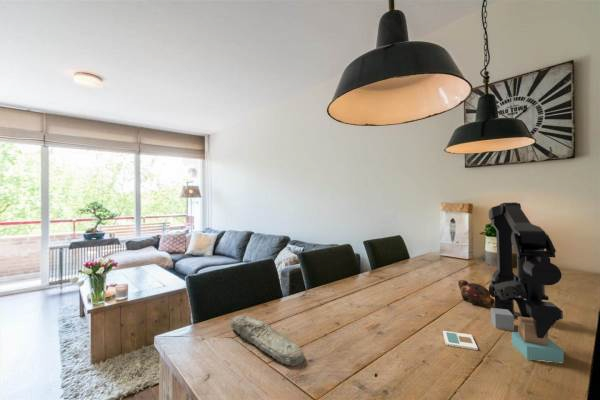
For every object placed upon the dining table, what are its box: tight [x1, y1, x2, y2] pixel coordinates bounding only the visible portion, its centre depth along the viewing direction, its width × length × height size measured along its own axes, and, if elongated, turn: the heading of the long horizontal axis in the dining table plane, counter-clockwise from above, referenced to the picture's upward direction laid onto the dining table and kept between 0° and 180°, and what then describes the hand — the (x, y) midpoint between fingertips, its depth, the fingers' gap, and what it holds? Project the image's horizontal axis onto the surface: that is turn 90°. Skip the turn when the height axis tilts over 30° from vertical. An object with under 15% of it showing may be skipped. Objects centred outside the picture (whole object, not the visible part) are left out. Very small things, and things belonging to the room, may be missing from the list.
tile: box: [442, 330, 479, 351], centre depth 81 cm, size 8×8×1 cm
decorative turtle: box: [457, 279, 495, 306], centre depth 110 cm, size 10×15×8 cm, turn 22°
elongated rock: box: [230, 314, 305, 367], centre depth 84 cm, size 35×5×10 cm
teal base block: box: [511, 331, 565, 363], centre depth 73 cm, size 8×8×4 cm
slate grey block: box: [490, 307, 515, 331], centre depth 89 cm, size 5×5×5 cm
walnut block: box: [517, 316, 549, 345], centre depth 74 cm, size 5×5×5 cm
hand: (532, 329), depth 74 cm, fingers open, 9 cm apart
